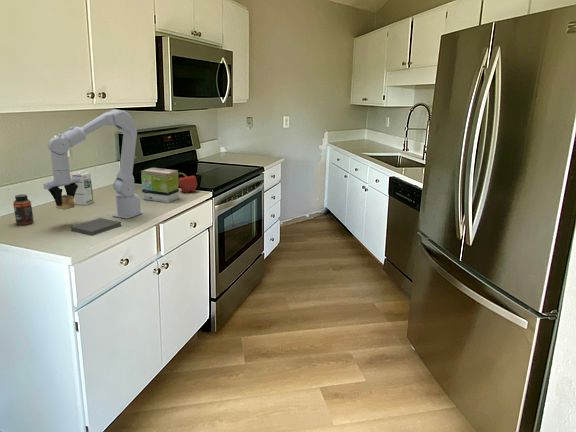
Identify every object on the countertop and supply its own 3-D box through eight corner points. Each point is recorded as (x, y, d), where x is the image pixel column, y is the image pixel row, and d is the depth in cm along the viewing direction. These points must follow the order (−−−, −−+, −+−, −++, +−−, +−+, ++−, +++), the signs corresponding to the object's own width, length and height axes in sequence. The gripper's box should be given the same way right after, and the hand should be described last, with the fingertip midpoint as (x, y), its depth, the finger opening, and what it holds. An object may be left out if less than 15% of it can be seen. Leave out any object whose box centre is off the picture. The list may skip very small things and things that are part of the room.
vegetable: (173, 192, 225) (172, 174, 223) (183, 188, 235) (183, 170, 232) (191, 194, 222) (190, 175, 219) (201, 190, 232) (200, 172, 229)
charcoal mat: (100, 221, 173) (100, 217, 172) (120, 225, 168) (120, 222, 168) (71, 230, 161) (70, 226, 160) (92, 235, 156) (91, 231, 156)
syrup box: (86, 205, 195) (82, 174, 191) (74, 204, 196) (71, 173, 192) (93, 202, 201) (90, 172, 197) (82, 201, 202) (79, 171, 198)
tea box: (141, 199, 208) (140, 170, 204) (153, 195, 218) (152, 167, 214) (168, 203, 204) (167, 172, 200) (179, 198, 214) (178, 169, 209)
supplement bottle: (37, 221, 170) (33, 193, 167) (28, 225, 164) (24, 197, 161) (21, 220, 170) (17, 193, 167) (12, 225, 164) (8, 196, 161)
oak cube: (66, 205, 168) (65, 194, 167) (74, 207, 167) (73, 196, 165) (56, 208, 164) (54, 196, 163) (64, 209, 163) (63, 198, 161)
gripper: (70, 165, 169) (73, 198, 173) (36, 171, 156) (40, 206, 160) (82, 167, 166) (86, 201, 170) (49, 173, 154) (53, 209, 158)
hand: (65, 204), depth 165 cm, fingers closed on oak cube, 4 cm apart
